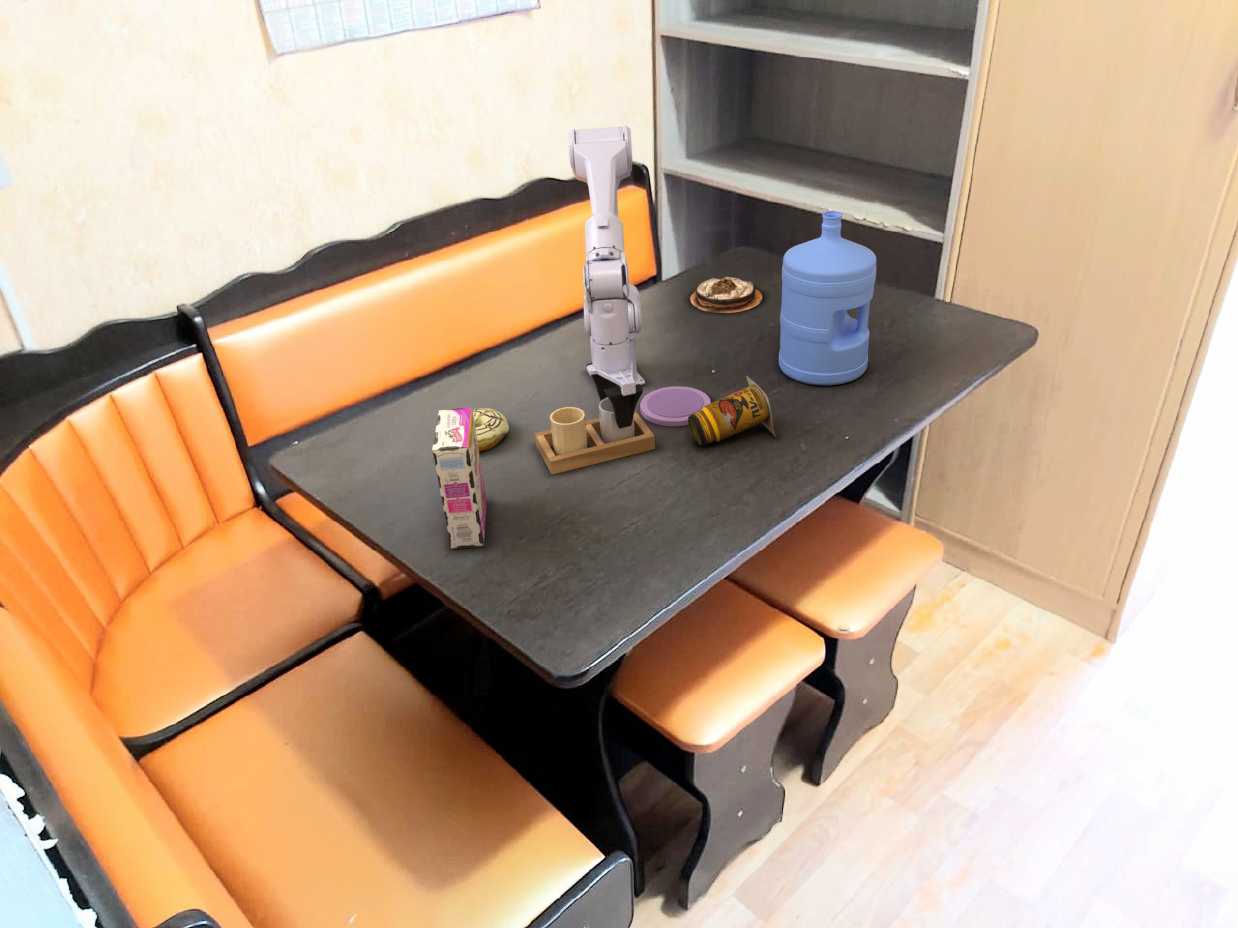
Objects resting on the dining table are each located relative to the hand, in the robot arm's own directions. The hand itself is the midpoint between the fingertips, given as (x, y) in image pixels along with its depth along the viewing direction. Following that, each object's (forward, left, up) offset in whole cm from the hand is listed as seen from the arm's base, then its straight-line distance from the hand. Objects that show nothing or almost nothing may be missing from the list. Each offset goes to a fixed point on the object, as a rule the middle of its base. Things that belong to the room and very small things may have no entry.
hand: (616, 415), depth 146 cm
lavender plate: (-6, +13, -5) cm, 15 cm away
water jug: (-8, +42, -5) cm, 43 cm away
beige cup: (0, -8, -5) cm, 9 cm away
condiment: (+6, +23, -1) cm, 24 cm away
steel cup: (0, 0, -5) cm, 5 cm away
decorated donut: (-11, -21, -5) cm, 24 cm away
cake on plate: (-44, +40, -5) cm, 60 cm away
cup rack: (0, -4, -5) cm, 6 cm away
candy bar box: (+12, -27, -5) cm, 30 cm away
